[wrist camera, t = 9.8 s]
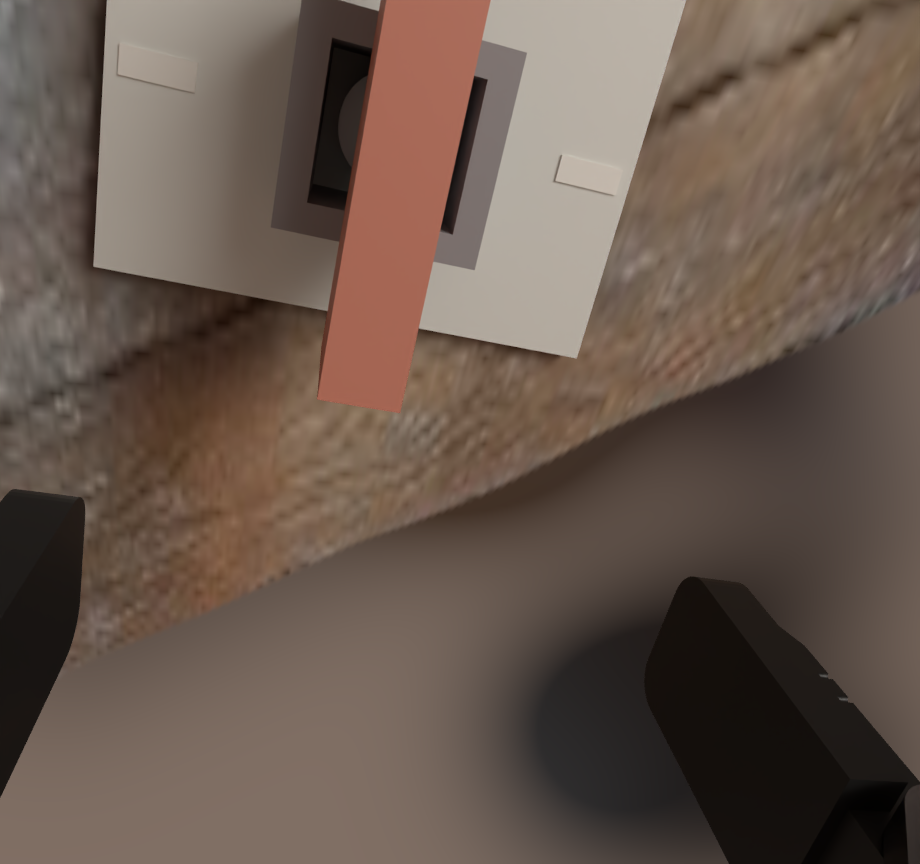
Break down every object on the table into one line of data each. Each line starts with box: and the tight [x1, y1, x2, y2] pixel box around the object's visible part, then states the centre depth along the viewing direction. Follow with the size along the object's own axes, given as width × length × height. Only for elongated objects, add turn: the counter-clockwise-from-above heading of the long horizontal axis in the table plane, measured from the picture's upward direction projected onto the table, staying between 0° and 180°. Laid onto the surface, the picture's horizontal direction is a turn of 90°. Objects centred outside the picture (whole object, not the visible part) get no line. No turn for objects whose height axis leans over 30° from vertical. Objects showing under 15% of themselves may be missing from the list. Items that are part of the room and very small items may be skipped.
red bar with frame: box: [271, 0, 527, 413], centre depth 24 cm, size 14×7×10 cm, turn 167°
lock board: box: [93, 0, 686, 358], centre depth 27 cm, size 20×15×6 cm
